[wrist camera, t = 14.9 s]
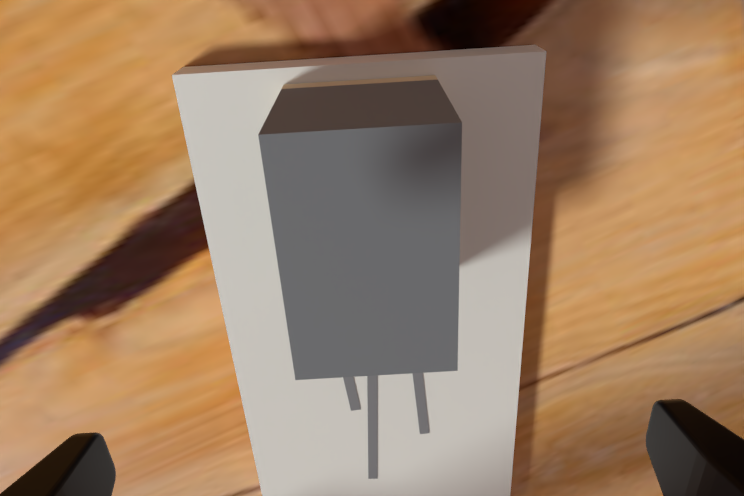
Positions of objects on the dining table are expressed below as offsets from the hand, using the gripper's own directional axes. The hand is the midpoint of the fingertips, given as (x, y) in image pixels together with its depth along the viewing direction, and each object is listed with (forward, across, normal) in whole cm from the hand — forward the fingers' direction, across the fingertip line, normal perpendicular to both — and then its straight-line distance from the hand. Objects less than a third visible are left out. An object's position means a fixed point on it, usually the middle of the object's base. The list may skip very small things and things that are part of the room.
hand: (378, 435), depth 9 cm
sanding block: (+11, 0, 0) cm, 11 cm away
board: (+12, 0, +7) cm, 14 cm away
